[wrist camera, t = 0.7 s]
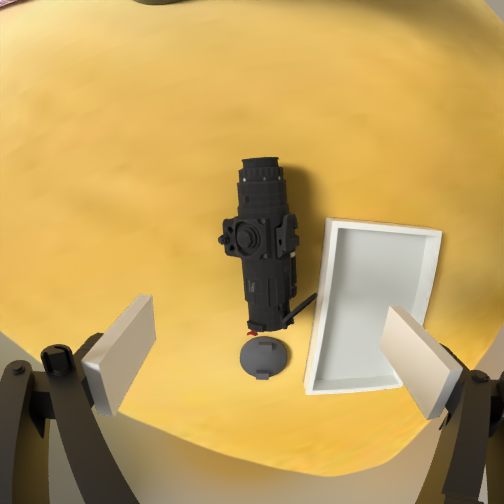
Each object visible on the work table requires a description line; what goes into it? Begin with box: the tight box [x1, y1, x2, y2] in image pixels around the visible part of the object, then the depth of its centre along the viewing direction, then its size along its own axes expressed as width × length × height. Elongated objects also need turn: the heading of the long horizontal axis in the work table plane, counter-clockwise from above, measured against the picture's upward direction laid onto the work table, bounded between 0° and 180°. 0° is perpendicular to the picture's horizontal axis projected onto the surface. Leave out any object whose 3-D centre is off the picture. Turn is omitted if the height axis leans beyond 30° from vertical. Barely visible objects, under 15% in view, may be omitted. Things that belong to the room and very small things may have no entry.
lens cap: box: [240, 336, 287, 380], centre depth 36 cm, size 6×6×2 cm
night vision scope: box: [218, 157, 318, 336], centre depth 30 cm, size 8×18×10 cm
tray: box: [303, 217, 442, 395], centre depth 34 cm, size 22×14×3 cm, turn 177°
